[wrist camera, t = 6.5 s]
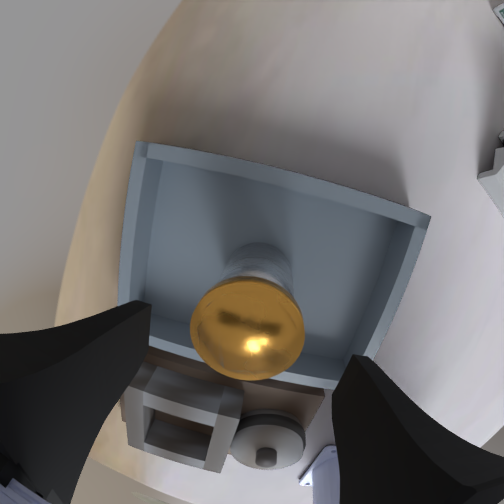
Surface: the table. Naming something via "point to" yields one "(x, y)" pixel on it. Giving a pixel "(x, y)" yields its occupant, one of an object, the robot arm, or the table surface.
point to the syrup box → (500, 12)
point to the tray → (271, 232)
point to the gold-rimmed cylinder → (250, 316)
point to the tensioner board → (215, 415)
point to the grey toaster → (495, 178)
